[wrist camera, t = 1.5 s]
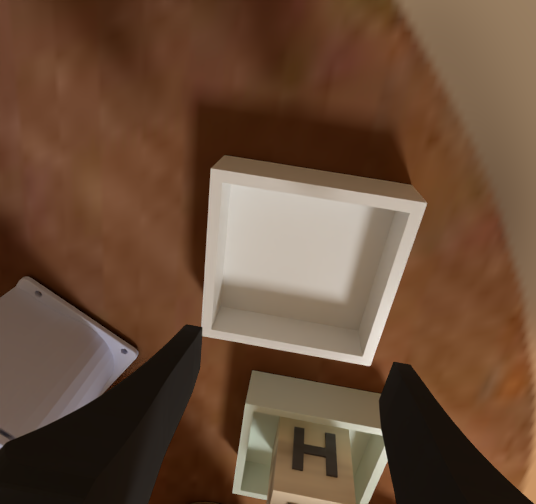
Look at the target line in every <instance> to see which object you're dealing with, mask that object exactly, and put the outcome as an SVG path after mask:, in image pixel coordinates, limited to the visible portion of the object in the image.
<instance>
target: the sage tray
mask: <svg viewBox="0 0 536 504" xmlns="http://www.w3.org/2000/svg"><path fill="white" fill-rule="evenodd" d="M380 396H381V394H379V393H374V392H368V391H363V390H357V389H352V388H346V387H341V386H336V385H330V384H325V383H319V382H314V381H308V380H303V379H298V378H292V377H287V376H281V375H276V374H270V373H265V372H260V371H254V370H252V374H251V378H250V383H249V388H248V393H247V398H246V402H245V409H244V416H243V423H242V429H241V436H240V443H239V450H238V457H237V463H236V470H235V477H234V484H233V491H232V493H234V494H239V495H244V496H249V497H254V498H259V499H264V500H267V494H268V485H269V476H270V467H271V458H272V450H273V445H274V440H275V436H276V431H277V426H278V422H279V417H280V416H281V417H286V418H291V419H296V420H302V421H307V422H312V423H318V424H323V425H328V426H334V427H339V428H344V429H349V436H350V446H351V457H352V468H353V478H354V489H355V499H356V504H368V503H369V501H370V499H371V496H372V494H373V492H374V490H375V488H376V485H377V483H378V481H379V479H380V476H381V474H382V472H383V470H384V468H385V465H386V463H387V461H388V460H387V455H386V450H385V445H384V441H383V436H382V431H381V423H380V412H379V399H380Z"/></svg>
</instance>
